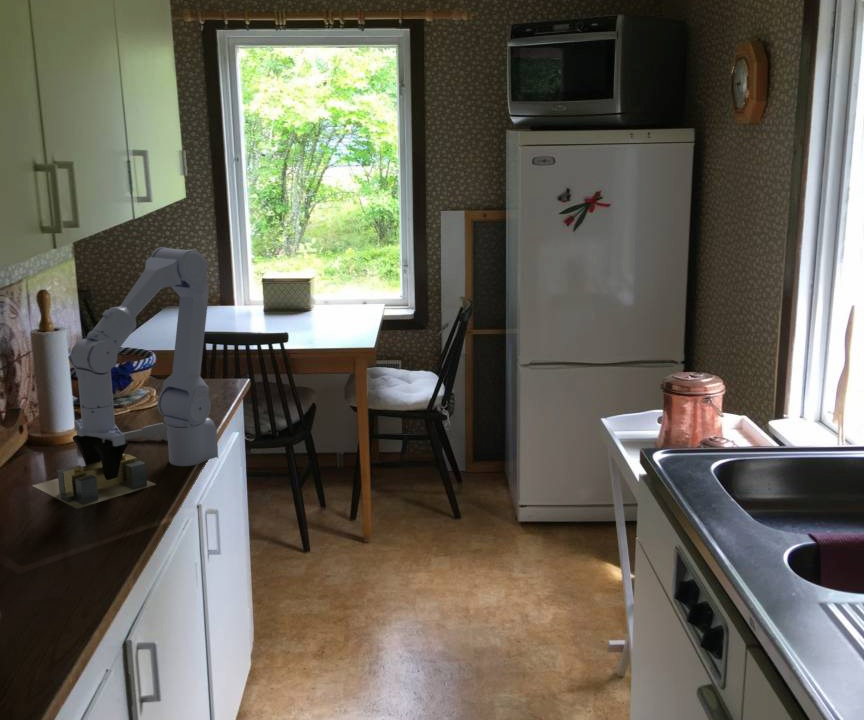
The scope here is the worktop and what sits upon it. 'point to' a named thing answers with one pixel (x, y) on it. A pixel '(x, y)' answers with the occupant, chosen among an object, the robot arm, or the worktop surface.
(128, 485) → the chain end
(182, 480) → the worktop surface
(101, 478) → the master link
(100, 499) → the jig board
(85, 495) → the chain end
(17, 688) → the worktop surface
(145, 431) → the caliper
